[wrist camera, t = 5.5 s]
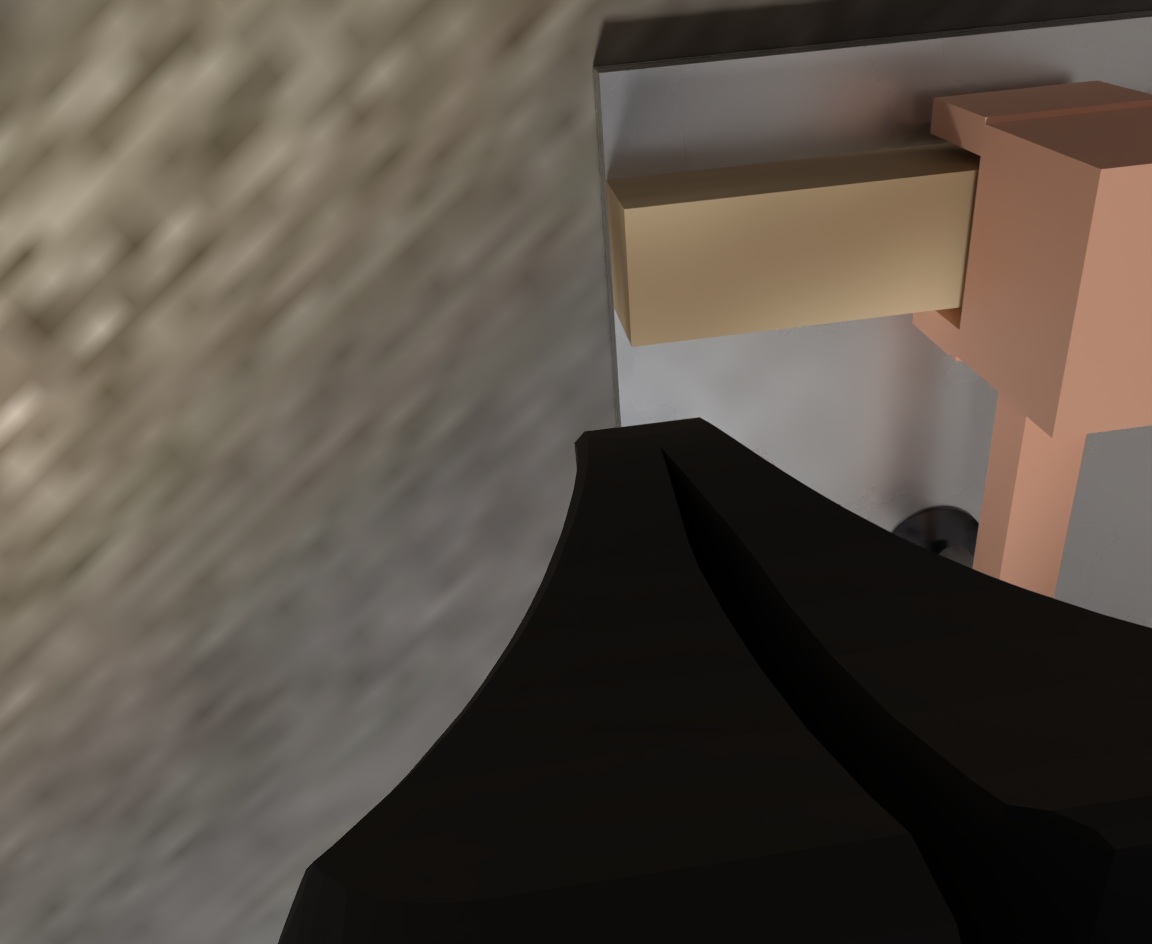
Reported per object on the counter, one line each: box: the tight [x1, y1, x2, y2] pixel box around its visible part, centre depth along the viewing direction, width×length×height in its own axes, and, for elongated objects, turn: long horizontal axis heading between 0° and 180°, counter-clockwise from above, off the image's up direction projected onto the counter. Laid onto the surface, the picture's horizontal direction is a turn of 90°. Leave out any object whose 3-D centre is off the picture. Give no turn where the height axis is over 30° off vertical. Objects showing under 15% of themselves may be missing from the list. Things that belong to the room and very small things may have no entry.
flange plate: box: [593, 10, 1152, 628], centre depth 22 cm, size 16×20×1 cm
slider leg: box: [912, 80, 1152, 598], centre depth 18 cm, size 10×3×5 cm, turn 5°
